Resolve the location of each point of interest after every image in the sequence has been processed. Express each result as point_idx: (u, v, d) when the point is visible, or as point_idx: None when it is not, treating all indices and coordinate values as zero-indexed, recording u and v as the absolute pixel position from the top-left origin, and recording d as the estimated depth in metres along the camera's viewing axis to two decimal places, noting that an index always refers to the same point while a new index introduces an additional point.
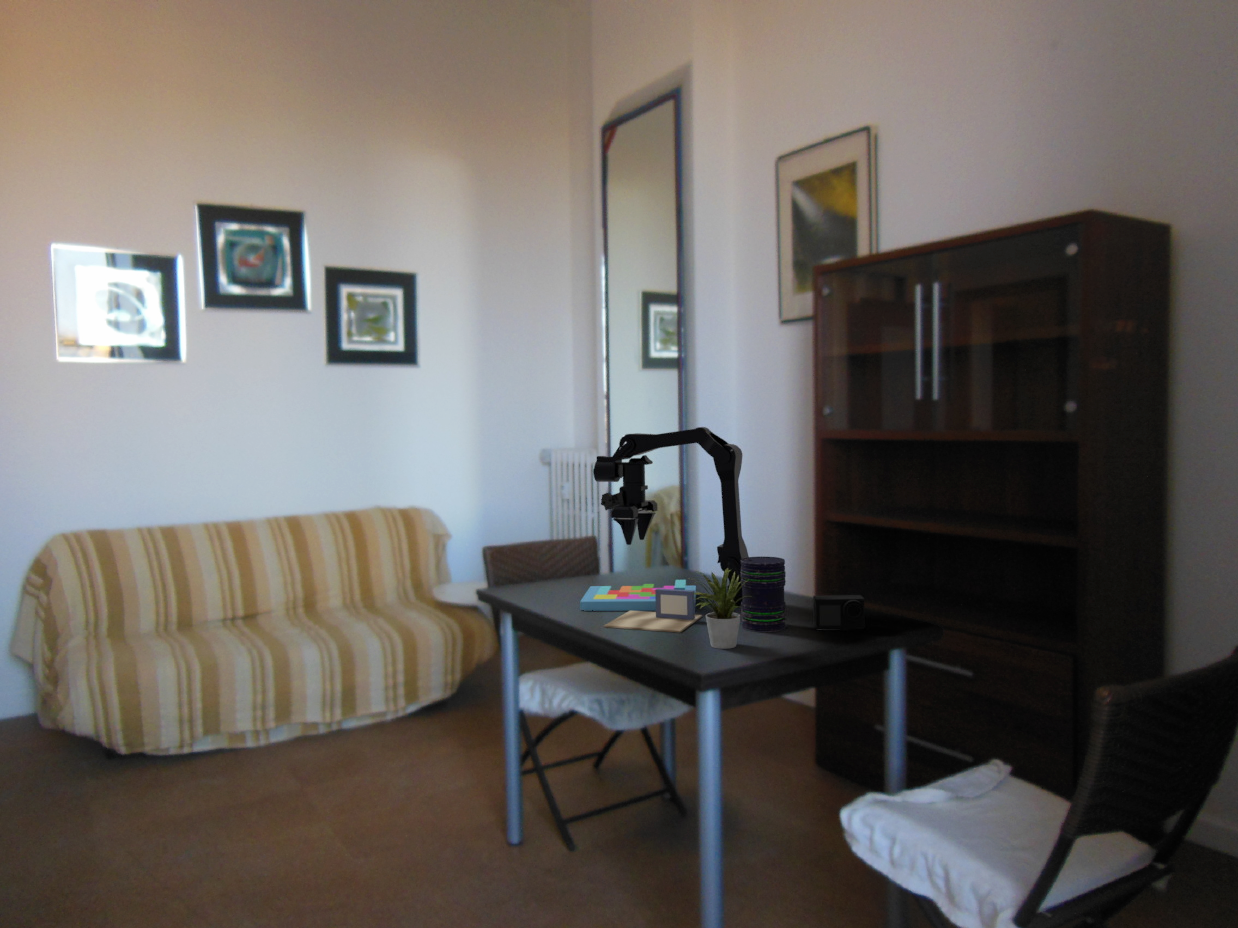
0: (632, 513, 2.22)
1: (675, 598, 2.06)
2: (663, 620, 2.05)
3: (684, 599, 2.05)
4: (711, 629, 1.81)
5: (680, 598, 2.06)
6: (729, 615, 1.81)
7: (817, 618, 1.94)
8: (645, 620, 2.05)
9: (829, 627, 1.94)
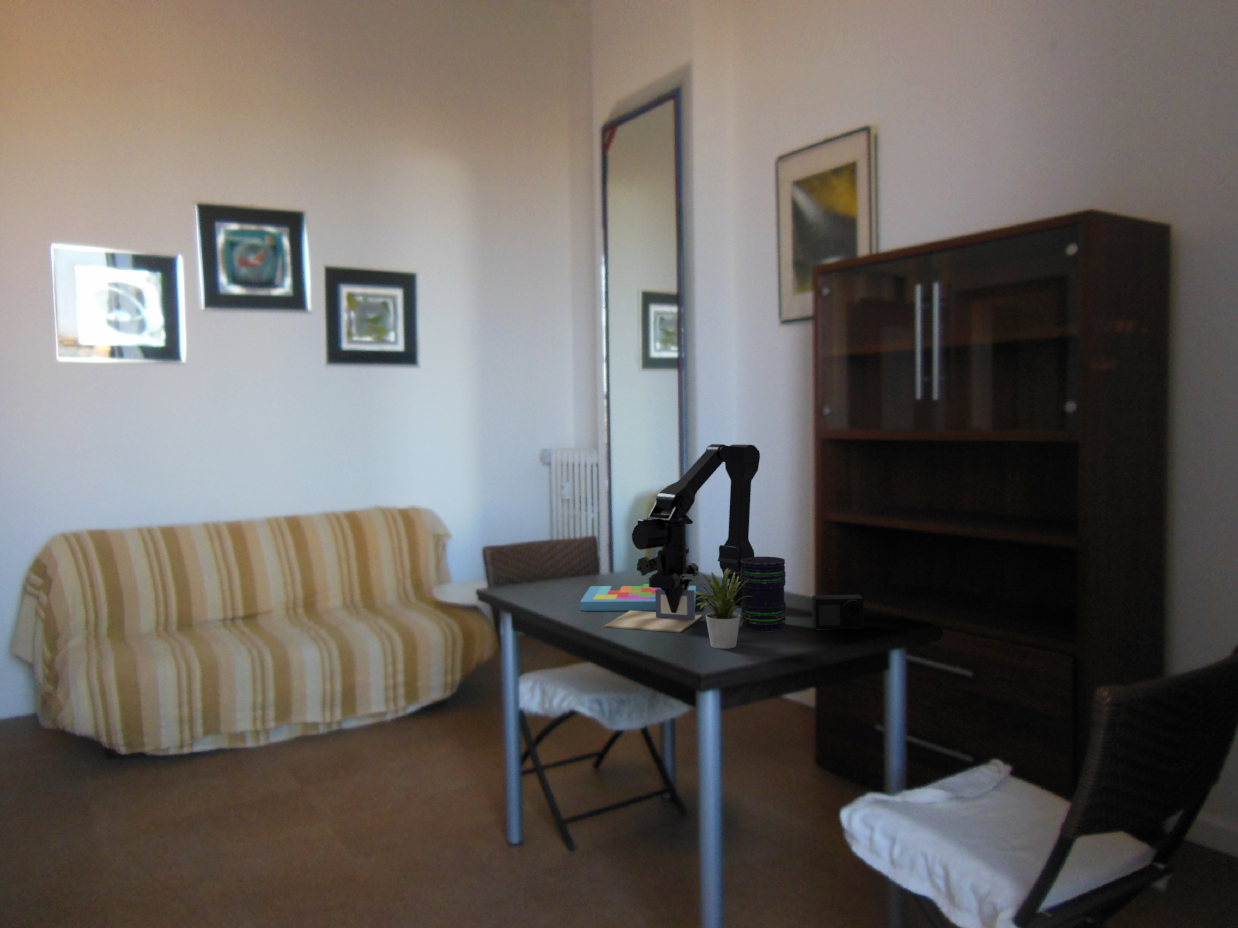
0: (673, 582, 1.97)
1: None
2: (663, 620, 2.05)
3: (684, 599, 2.05)
4: (711, 629, 1.81)
5: None
6: (729, 615, 1.81)
7: (816, 618, 1.94)
8: (645, 620, 2.05)
9: (828, 627, 1.94)
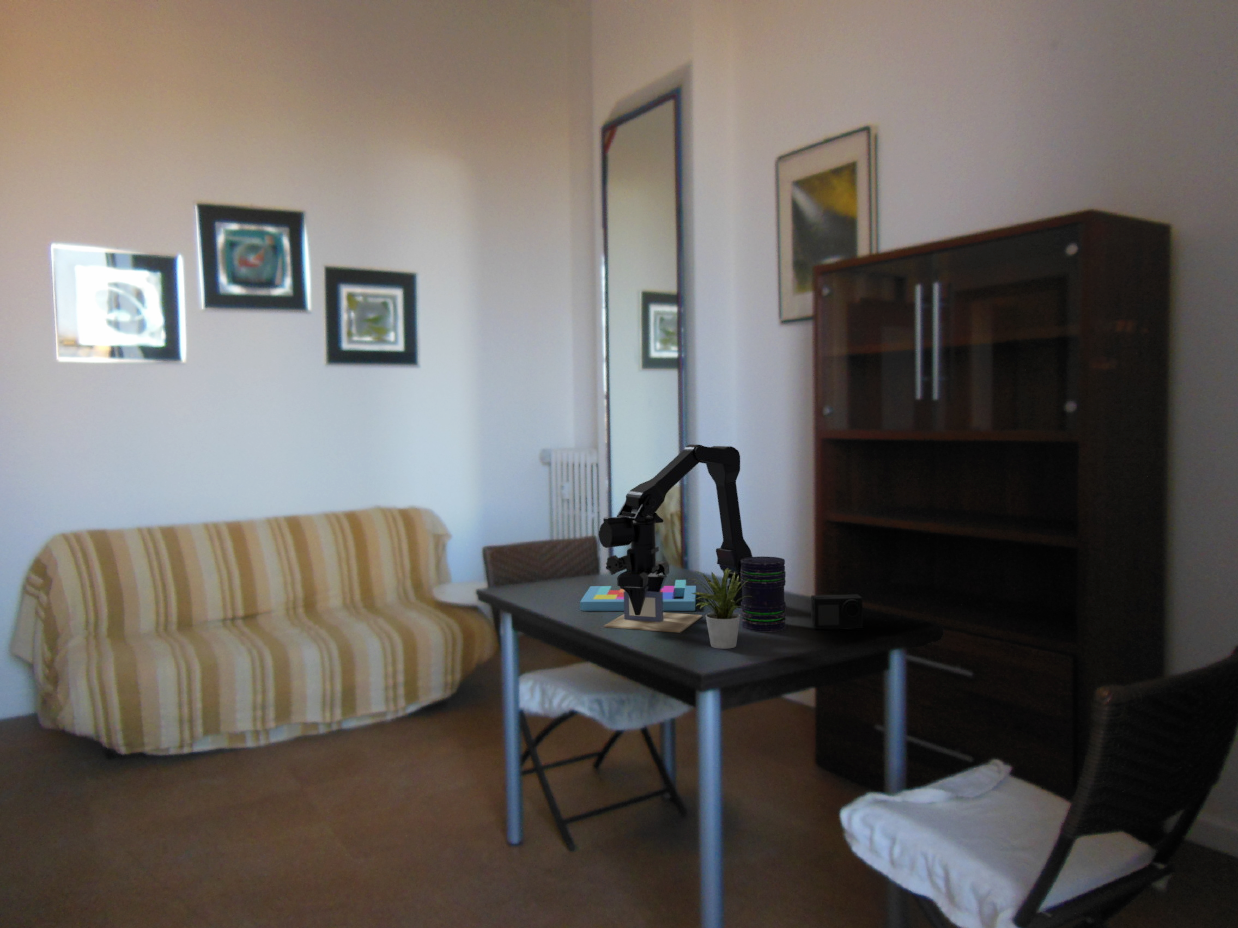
0: (641, 581, 1.96)
1: None
2: (663, 620, 2.05)
3: (652, 601, 2.04)
4: (711, 629, 1.81)
5: (648, 600, 2.04)
6: (729, 615, 1.81)
7: (816, 618, 1.94)
8: None
9: (828, 627, 1.94)
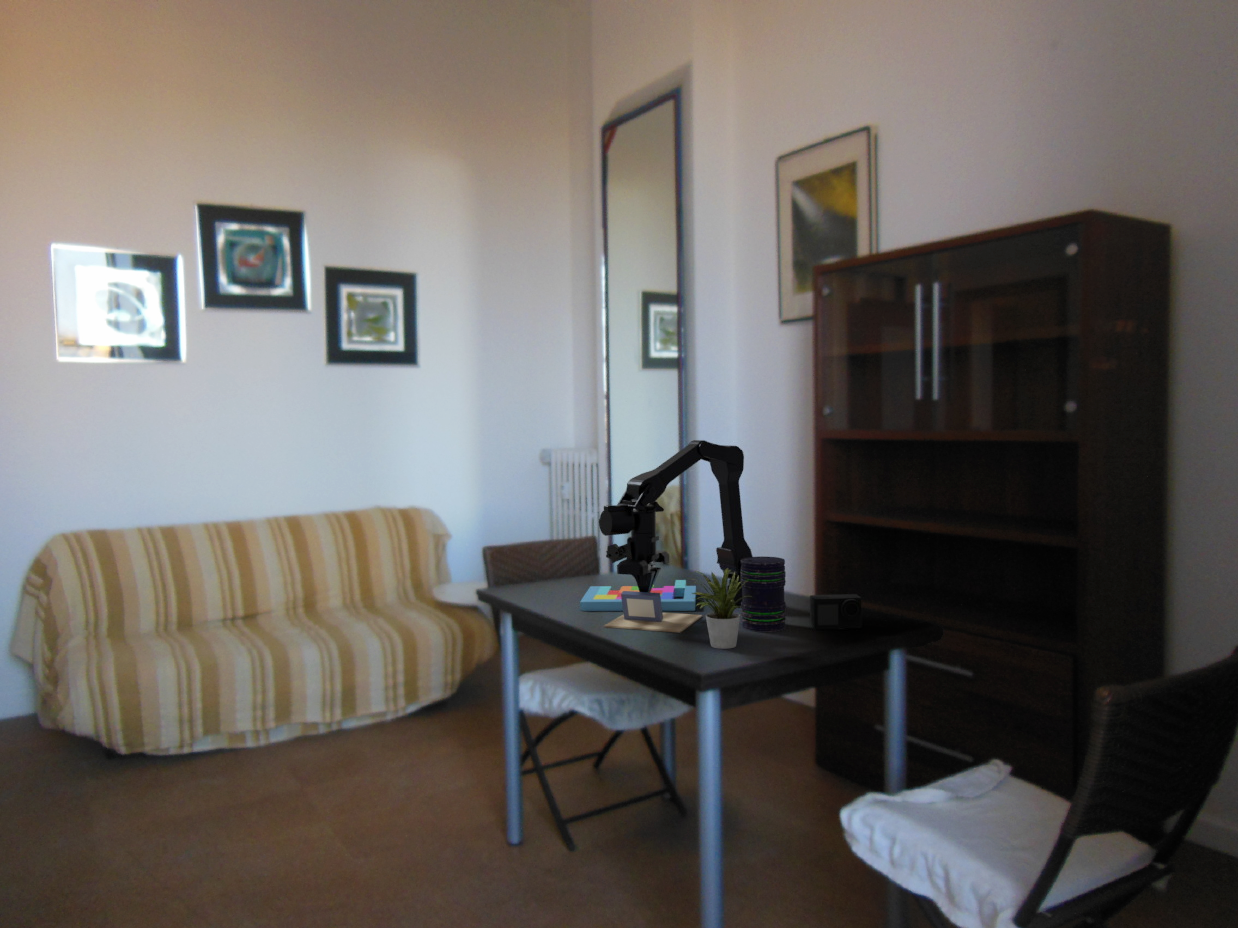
0: (641, 569, 1.96)
1: (641, 602, 2.04)
2: (663, 620, 2.05)
3: (650, 603, 2.03)
4: (711, 629, 1.81)
5: (646, 602, 2.03)
6: (729, 615, 1.81)
7: (815, 618, 1.94)
8: None
9: (827, 626, 1.94)
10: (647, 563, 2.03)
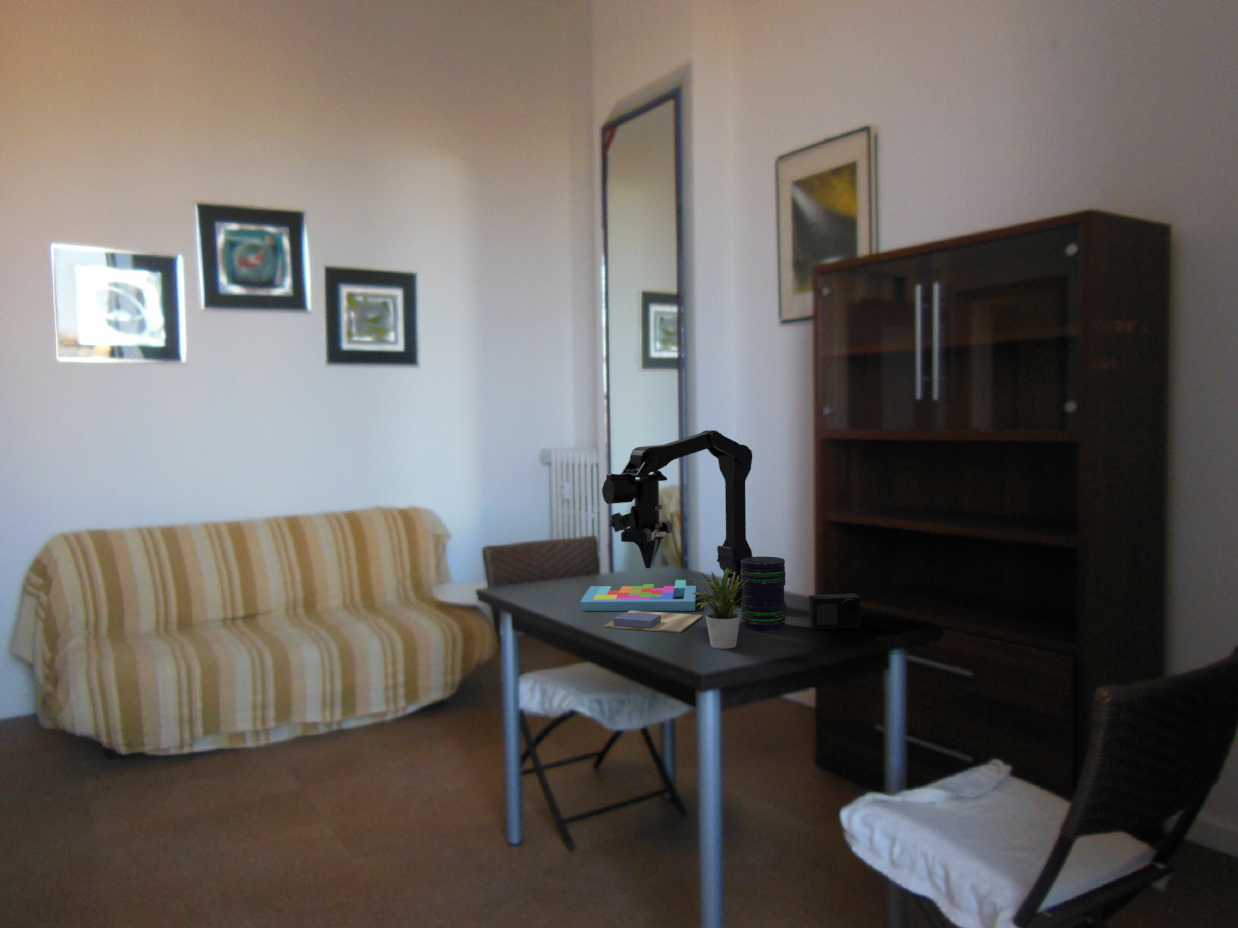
0: (645, 536, 1.98)
1: None
2: (663, 620, 2.05)
3: None
4: (711, 629, 1.81)
5: None
6: (729, 615, 1.81)
7: (814, 617, 1.94)
8: None
9: (826, 626, 1.94)
10: (651, 531, 2.05)
